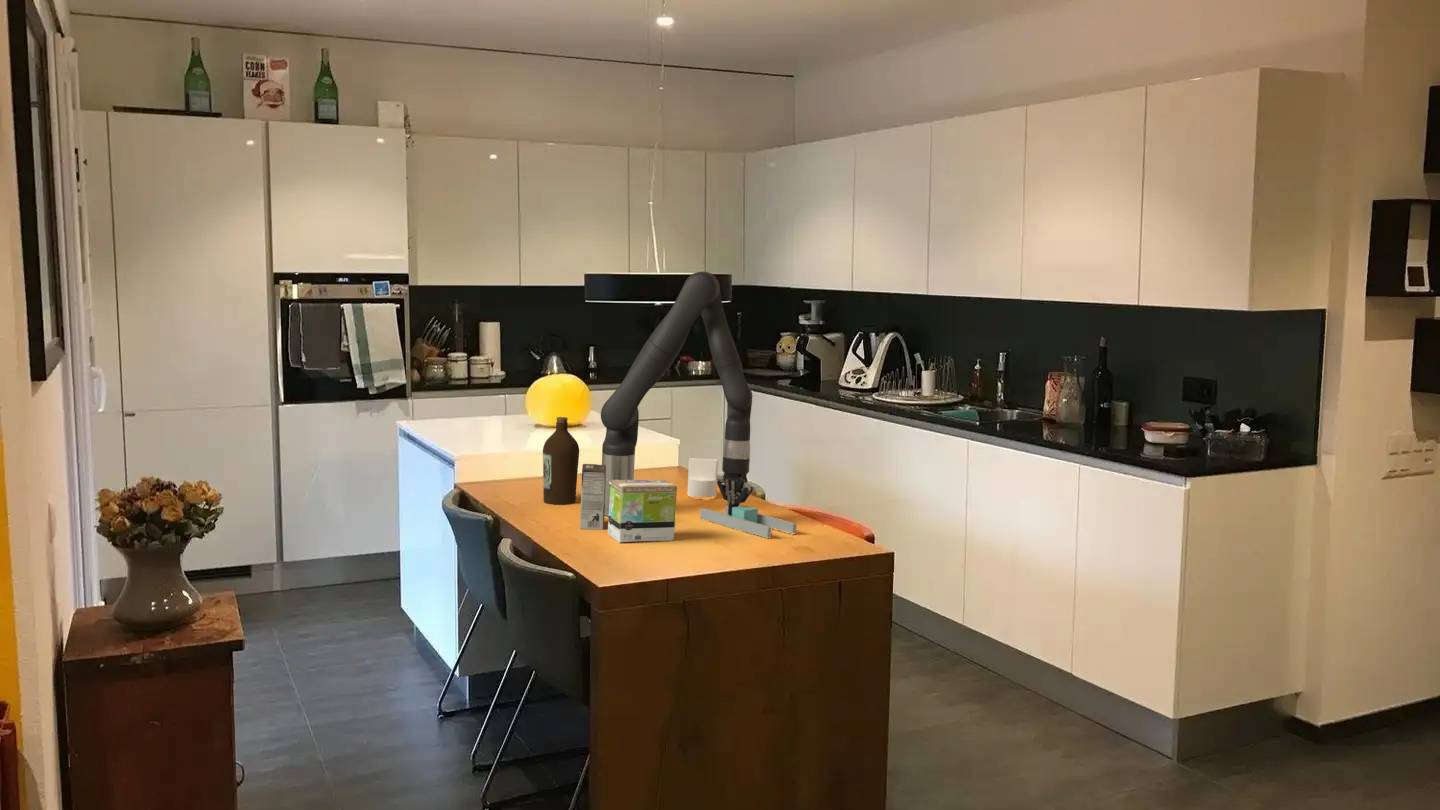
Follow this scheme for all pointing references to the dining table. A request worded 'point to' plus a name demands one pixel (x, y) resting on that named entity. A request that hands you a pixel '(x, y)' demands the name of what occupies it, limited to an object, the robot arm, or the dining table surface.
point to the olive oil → (560, 466)
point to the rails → (748, 522)
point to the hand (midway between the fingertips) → (733, 516)
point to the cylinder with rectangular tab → (702, 477)
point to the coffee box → (593, 496)
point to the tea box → (642, 510)
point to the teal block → (745, 513)
